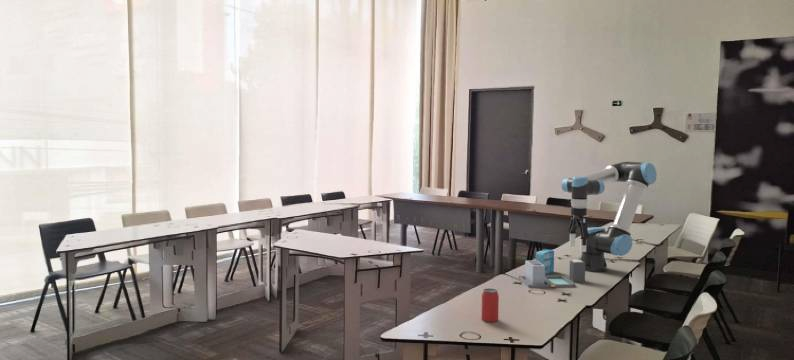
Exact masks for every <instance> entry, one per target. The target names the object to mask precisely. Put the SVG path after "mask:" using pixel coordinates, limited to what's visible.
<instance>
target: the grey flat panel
mask: <svg viewBox="0 0 794 360" xmlns="http://www.w3.org/2000/svg"><path fill="white" fill-rule="evenodd" d="M518 280H520V281H521V282H522V283H523V284H525V286H526V287H527V288H528V289H539V288H540V289H542V288H544V289H545V288H551V289H552V288H576V285H577V284H576V283H575V282H572V281H571V280H569V278H567V277H565V276H564V275H545V284H534V285H530V284H529V283H528V282H527V281H526V280H525V275H519V276H518Z"/></svg>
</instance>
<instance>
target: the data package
mask: <svg viewBox="0 0 794 360" xmlns="http://www.w3.org/2000/svg"><path fill="white" fill-rule="evenodd" d="M535 260H537V261H539V262H540V263H541V264H543V265H544V266H545V275H548V274H550V273H551V274H552V273H553V272H554V269H555V250H553V249H545V248H544V249H543V250H539V251H536V253H535Z"/></svg>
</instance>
